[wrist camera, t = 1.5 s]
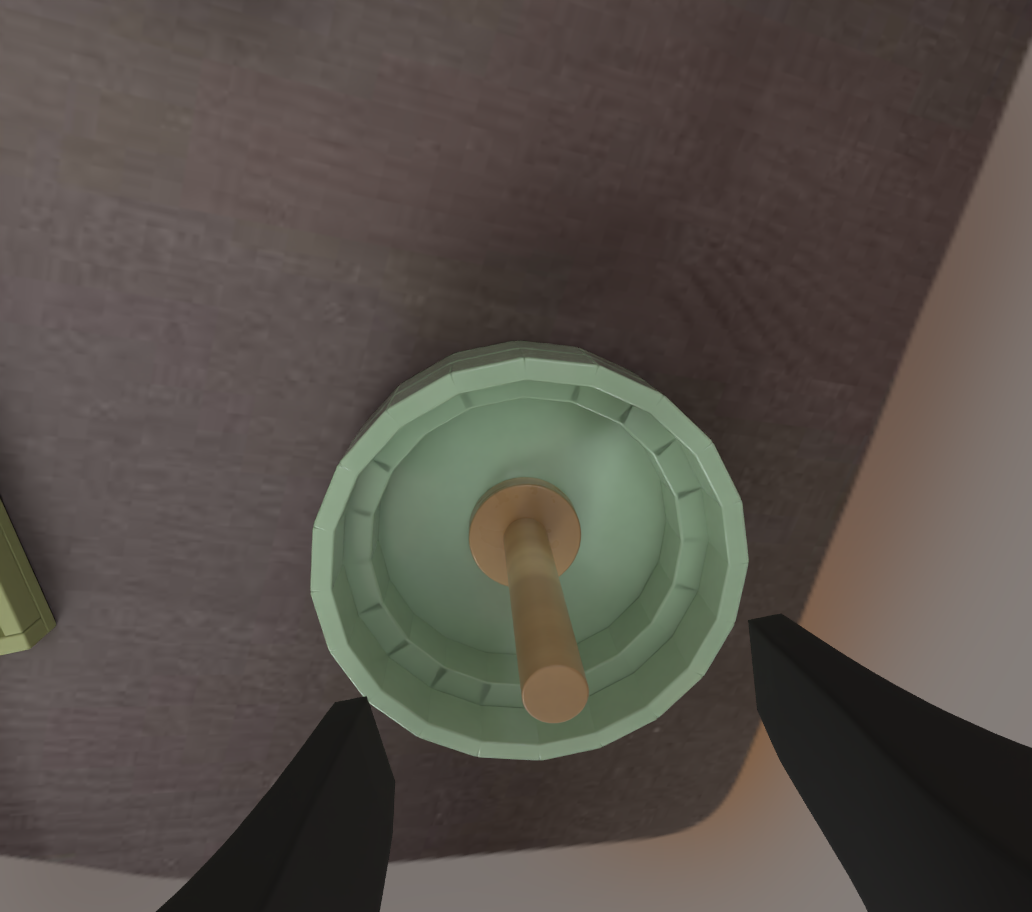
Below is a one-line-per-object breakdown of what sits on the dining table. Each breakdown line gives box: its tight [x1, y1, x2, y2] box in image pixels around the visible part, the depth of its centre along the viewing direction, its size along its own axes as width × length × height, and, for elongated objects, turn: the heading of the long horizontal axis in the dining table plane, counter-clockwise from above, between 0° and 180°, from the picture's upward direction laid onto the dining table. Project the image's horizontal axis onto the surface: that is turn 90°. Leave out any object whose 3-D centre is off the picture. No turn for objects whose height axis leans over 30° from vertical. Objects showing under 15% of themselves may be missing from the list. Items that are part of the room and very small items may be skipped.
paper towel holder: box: [469, 477, 589, 723], centre depth 19 cm, size 4×4×9 cm
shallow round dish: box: [310, 341, 749, 760], centre depth 21 cm, size 12×12×4 cm
